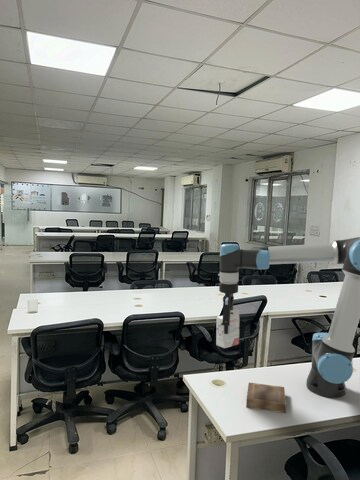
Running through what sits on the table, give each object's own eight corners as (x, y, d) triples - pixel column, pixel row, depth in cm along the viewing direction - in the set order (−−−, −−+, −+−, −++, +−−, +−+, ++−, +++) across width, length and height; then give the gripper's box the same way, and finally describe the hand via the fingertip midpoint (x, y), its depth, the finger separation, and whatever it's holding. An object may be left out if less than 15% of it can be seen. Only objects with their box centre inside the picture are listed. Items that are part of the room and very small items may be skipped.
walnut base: (284, 394, 140) (284, 386, 140) (285, 412, 127) (285, 404, 127) (248, 389, 144) (248, 382, 144) (246, 407, 130) (246, 399, 130)
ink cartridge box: (230, 340, 146) (231, 306, 146) (239, 344, 142) (240, 308, 142) (215, 345, 141) (216, 309, 141) (223, 348, 137) (224, 311, 137)
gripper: (223, 277, 152) (222, 328, 153) (215, 286, 131) (214, 345, 132) (240, 278, 150) (239, 329, 151) (235, 288, 129) (234, 347, 130)
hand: (227, 337), depth 142 cm, fingers closed on ink cartridge box, 9 cm apart
